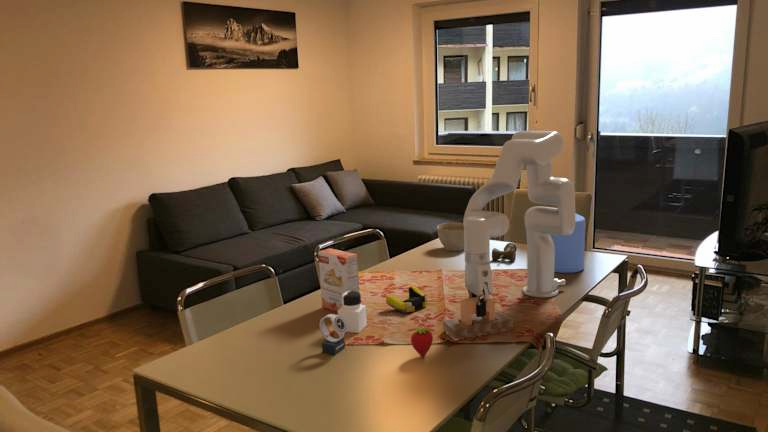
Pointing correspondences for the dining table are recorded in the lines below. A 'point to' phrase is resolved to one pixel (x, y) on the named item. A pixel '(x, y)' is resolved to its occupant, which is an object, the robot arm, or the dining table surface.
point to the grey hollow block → (478, 326)
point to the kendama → (505, 253)
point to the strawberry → (422, 340)
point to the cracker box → (337, 276)
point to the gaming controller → (408, 301)
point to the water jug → (570, 249)
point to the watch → (333, 343)
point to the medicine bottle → (353, 312)
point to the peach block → (470, 308)
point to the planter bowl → (451, 236)
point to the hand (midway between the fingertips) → (477, 313)
